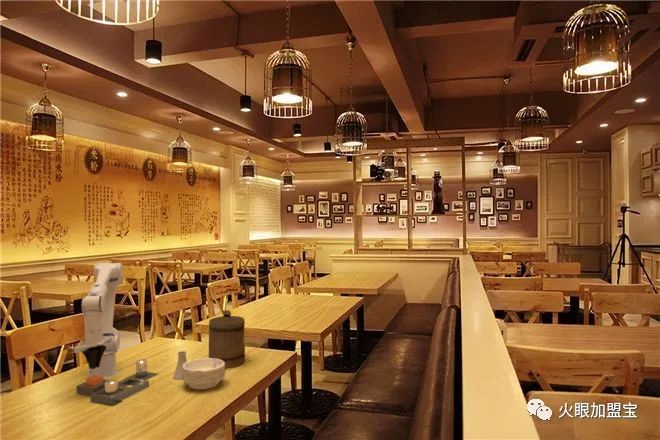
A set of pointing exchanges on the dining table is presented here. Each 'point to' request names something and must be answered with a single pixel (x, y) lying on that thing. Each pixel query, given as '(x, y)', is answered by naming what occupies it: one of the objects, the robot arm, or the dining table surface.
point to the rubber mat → (149, 375)
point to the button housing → (89, 388)
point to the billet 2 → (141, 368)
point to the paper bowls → (203, 372)
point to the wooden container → (227, 339)
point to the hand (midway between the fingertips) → (94, 367)
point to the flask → (180, 365)
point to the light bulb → (111, 387)
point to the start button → (94, 380)
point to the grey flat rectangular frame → (120, 391)
